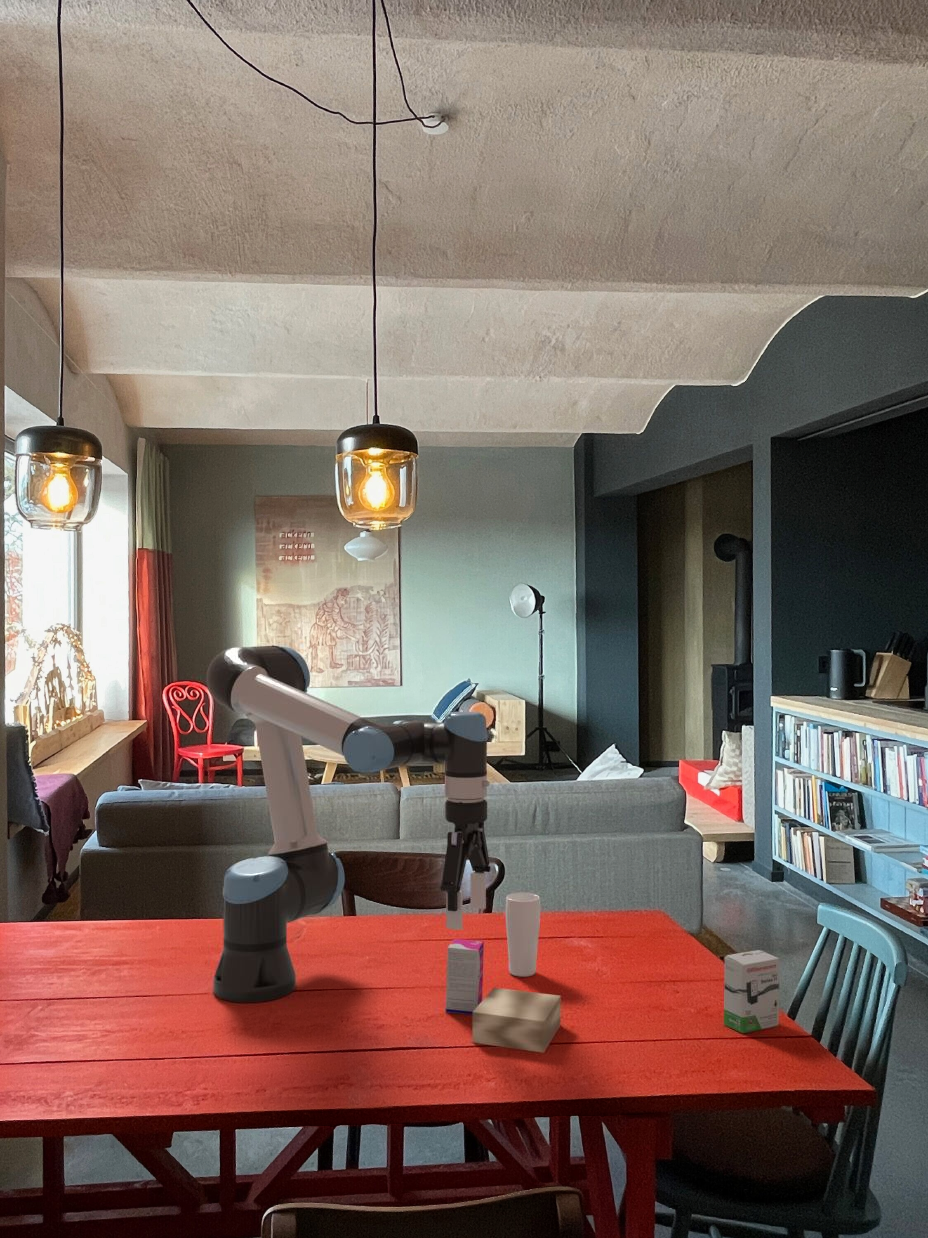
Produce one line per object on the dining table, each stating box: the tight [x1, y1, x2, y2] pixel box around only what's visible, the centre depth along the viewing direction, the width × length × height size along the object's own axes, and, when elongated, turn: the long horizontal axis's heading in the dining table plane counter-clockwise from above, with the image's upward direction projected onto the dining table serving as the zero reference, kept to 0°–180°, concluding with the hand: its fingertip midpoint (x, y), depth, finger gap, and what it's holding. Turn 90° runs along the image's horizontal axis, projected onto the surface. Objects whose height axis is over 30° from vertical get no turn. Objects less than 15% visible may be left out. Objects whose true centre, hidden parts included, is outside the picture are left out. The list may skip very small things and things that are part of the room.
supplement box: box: [445, 938, 485, 1016], centre depth 185 cm, size 6×6×12 cm
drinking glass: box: [505, 892, 541, 978], centre depth 204 cm, size 7×7×15 cm
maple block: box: [472, 987, 562, 1054], centre depth 174 cm, size 12×12×5 cm
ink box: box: [723, 949, 781, 1034], centre depth 178 cm, size 9×5×12 cm, turn 117°
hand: (466, 918), depth 185 cm, fingers open, 13 cm apart
